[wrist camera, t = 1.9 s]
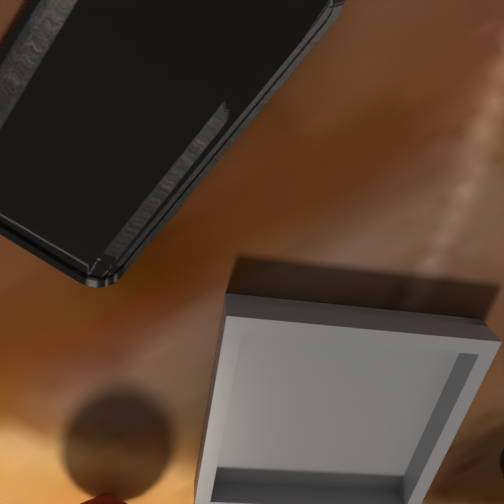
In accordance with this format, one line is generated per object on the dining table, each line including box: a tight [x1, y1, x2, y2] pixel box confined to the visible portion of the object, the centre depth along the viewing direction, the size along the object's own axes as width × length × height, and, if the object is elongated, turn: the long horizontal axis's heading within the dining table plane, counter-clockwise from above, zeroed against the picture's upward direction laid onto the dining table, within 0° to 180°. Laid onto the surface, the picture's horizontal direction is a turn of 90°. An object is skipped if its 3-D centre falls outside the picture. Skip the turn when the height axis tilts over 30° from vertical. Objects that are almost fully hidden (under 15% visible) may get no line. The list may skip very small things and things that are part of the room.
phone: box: [0, 0, 345, 288], centre depth 16 cm, size 8×1×15 cm
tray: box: [194, 293, 502, 504], centre depth 23 cm, size 13×13×2 cm
